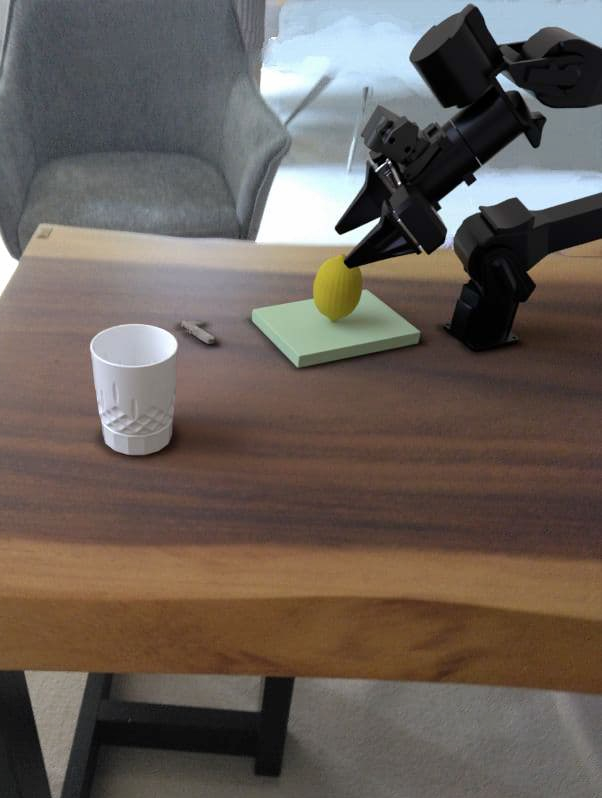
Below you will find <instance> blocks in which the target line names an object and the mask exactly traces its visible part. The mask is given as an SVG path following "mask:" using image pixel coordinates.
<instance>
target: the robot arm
mask: <svg viewBox="0 0 602 798" xmlns="http://www.w3.org/2000/svg"><path fill="white" fill-rule="evenodd" d="M408 59H409V62H410V63H411V65H412V66H413V68H414V69H415V71H416V72H417V74H418V75H419V76H420V78H421V80H422V81H423V82H424V84H425V85H426V87H427V88H428V90H429V91H430V93H431V94H432V95H433V98H435V100H436V101H437V103H438V104H439V106H440V108H442V109H451V108H453V107H455V108H456V109H457V110H458V111H457V112H456V113H455V114H454V115H453V116H452V117H450V118H449V119H448V120H447V121H445V123H443V124H442V125H441V126H440V124H439V123H438V121H435V123H434V122H431V123H429V124H428V125H427V126H426V127H425V128H424V129H421V128H420V126H419V124H418V123H417V122H415V121H413V122H412V121H410V120H409V119H408V118H407V116H405V115H403V116H400V115H398V114H397V113H394V112H393V111H391V110H390V109H388V108H386V107H384V106H383V105H381V104H377V106H376V107H375V109H374V111H373V112H372V114H371V116H370V118H369V120H368V121H367V122H366V125H365V126H364V128H363V130H362V131H361V133H360V137H361V138H363V144H364V145H365V147H366V148H368V149H369V150H370V151H369V152H368V155H369V156H370V159H371V161H370V160H369V159H366V162H365V176H364V182H363V185H362V187H361V188H360V189H359V191H358V193H357V194H356V196H355V197H354V199H353V200H352V201H351V203H350V204H349V206H348V207H347V209H346V210H345V211H344V212H343V214H342V215H341V217H340V218H339V219H338V221H337V222H336V224H335V225H334V231H335V232H336V233H337V235H338V236H342V235H345V234H347V233H349V232H351V231H355V230H356V229H358V228H360V227H363V226H364V225H367V224H369V223H371V222H373V221H376V220H377V219H379V221H378V222H377V224H375V225H374V226H373V227H372V229H370V231H369V232H368V233H367V234H366V235H365V236H364V237H363V238H362V239H361V240H360V241H359V242H358V243H357V244H356V245H355V246H354V247H353V248H352V249H351V250H350V252H349V253H348V254H347V255H346V258H345V259H344V261H343V262H344V264H345V265H346V267H347V268H349V269H351V268H355V267H359V268H360V267H362V266H366V265H370V264H373V263H377V262H381V261H385V260H389V259H393V258H398V257H403V256H408V255H413V254H416V256H419V255H421V254H423V251H424V252H425V253H426V255H428V256H430V255H431V254H432V253H434V252H436V250H438V249H439V248H440V247H441V246H443V245H445V243H446V239H447V235H448V228H447V227H446V224H445V223H444V221H443V219H442V217H441V216H440V214H439V211H440V210H442V209H443V207H442V206H441V203H440V202H441V201H442V200H443V199H444V198H445V197H446V196H448V195H449V194H451V193H452V192H453V191H454V190H455V189H456V188H458V187H459V186H460V185H461V184H462V183H465V184H466V186H467V187H468V188H469V187H470V186H471V185H474V183H475V182H476V181H477V180H478V179H477V178H476V176H475V175H474V174H475V173H476V172H477V171H479V170H480V169H482V167H484V166H485V165H486V164H487V163H489V161H491V160H492V159H494V157H496V156H497V155H498V154H499V153H500V152H502V151H503V150H505V148H507V147H508V146H509V145H510V144H512V143H513V142H514V141H515V140H516V139H518V138H519V137H520V136H521V135H522V137H523V139H524V140H525V141H526V142H527V143H528V144H529V146H531V148H532V149H538V148H540V146H541V141H542V139H543V131H544V127H545V125H546V122H547V121H548V118H547V117H546V116H545V115H544V114H543V113H542V112H541V111H532V110H531V108H530V107H529V105H528V103H527V102H526V101H525V99H524V98H523V97H524V96H522V94H521V93H520V91H519V90H517V89H516V90H515V89H511V90H506V91H505V90H504V88H503V86H502V85H501V83H500V82H499V80H498V78H497V77H498V76H499V75H502V76H503V77H505V78H506V79H507V80H508V81H510V82H511V83H512V84H514V85H515V86H516V87H518V88H519V89H522V90H523V91H524V92H525V93H527V94H528V95H529V96H531V97H532V98H533V99H535V100H536V101H538V102H539V103H540V104H541V105H543V106H545V107H548V108H550V109H556V110H557V109H559V110H560V109H588V108H592V107H597V106H601V105H602V47H601V46H600V45H598V44H595V43H594V42H591V41H590V40H587V39H586V38H584V37H581V36H579V35H577V34H575V33H572V32H570V31H568V30H566V29H564V28H562V27H559V26H546V27H542V28H540V29H539V30H538V31H537V32H535V33H534V34H533V35H531V36H530V37H528V39H526V40H520V41H514V42H507V43H500V44H498V43H497V41H496V40H495V38H494V37H493V35H492V33H491V32H490V30H489V27H488V26H487V22H486V19H485V17H484V15H483V13H482V12H481V10H480V8H479V6H476V5H475V4H474V3H468V4H467V5H466V6H464V8H462V9H461V10H460V12H456V13H454V14H451V15H450V16H448V17H446V18H445V19H444V20H442V21H441V22H439V23H438V24H434V25H432V26H431V27H430V28H429V29H428V30H427V31H426V32H425V33H424V34H423V35H422V36H421V37H420V38H419V40H418V41H417V42H416V43H415V45H414V46H413V48H412V49H411V52H410V54H409V57H408ZM372 162H373V163H372ZM478 210H479V211H480V212H475V213H472V214H471V215H469V216H467V217H466V218H465V219H463V220H462V222H461V224H460V225H459V227H458V228H457V230H456V232H455V234H454V236H453V240H452V241H453V243H452V246H453V251H454V254H455V255H456V257H457V258H458V260H459V261H460V263H461V264H462V267H463V271H464V272H465V273H466V274H467V275H468V278H470V279H469V280H468V282H466V283H463V284H462V287H461V291H460V295H459V297H458V298H457V299H456V301H455V306H454V311H453V314H452V318H451V321H449V322H448V321H447V322H444V323H443V324H442V329H443V330H445V331H446V332H447V333H449V334H450V335H452V337H454V338H455V339H456V340H458V341H459V342H461V343H462V344H463V345H464V346H466V347H467V348H468V349H469V350H471V351H474V352H481V351H484V350H489V349H494V348H495V349H496V348H498V347H504V346H509V345H513V344H517V343H518V342H519V340H520V339H519V336H517V335H516V334H514V333H513V332H511V331H512V328H513V325H514V321H515V318H516V315H517V312H518V309H519V306H520V304H522V303H523V304H524V303H525V304H526V302H527V301H528V300H529V298H530V297H531V295H532V294H533V293H534V291H535V290H536V288H537V284H536V283H535V281H534V280H533V278H532V276H530V275H529V273H528V272H529V271H530V270H532V269H533V268H534V267H535V266H537V265H538V264H539V263H540V262H541V261H542V260H543V259H545V258H546V257H547V256H548V255H551V254H554V253H557V252H560V251H564V250H568V249H571V248H574V247H578V246H582V245H584V244H585V245H586V244H588V243H592V242H596V241H599V240H602V191H601V192H597V193H594V194H591V195H587V196H584V197H580V198H577V199H574V200H570V201H567V202H562V203H560V204H556V205H553V206H549V207H546V208H543V209H537V210H534V209H529V208H528V207H527V206H526V205H525V204H524V203H523V202H522V201H521V199H519V198H518V197H517V196H514V197H511V198H507V199H505V200H503V201H501V202H498V203H496V204H494V205H493V204H492V205H487V206H486V205H479V206H478Z"/></svg>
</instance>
